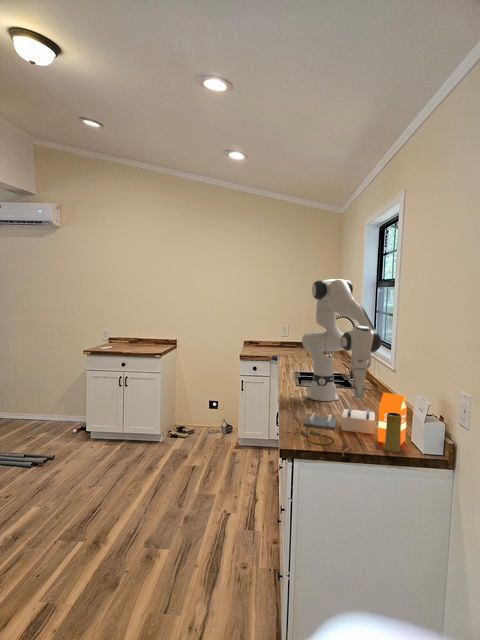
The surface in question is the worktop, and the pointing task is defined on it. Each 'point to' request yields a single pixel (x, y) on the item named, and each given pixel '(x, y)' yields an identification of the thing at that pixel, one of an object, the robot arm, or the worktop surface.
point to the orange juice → (391, 405)
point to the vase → (393, 432)
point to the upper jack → (358, 421)
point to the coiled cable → (316, 434)
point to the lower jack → (320, 421)
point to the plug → (359, 395)
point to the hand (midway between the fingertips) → (359, 391)
